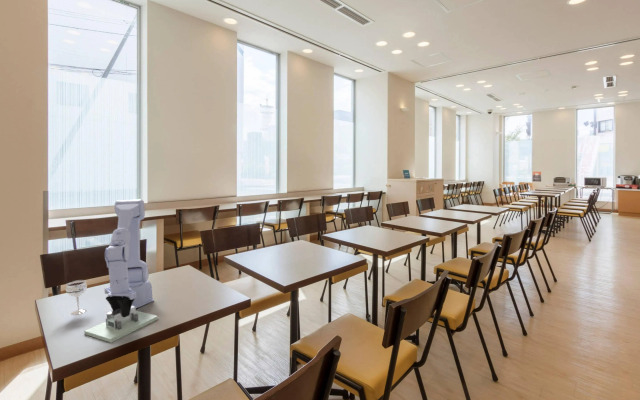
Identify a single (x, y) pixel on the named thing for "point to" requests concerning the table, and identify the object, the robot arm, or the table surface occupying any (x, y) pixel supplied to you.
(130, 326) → the pale green peg board
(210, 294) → the table surface
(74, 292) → the wineglass
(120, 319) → the drive
